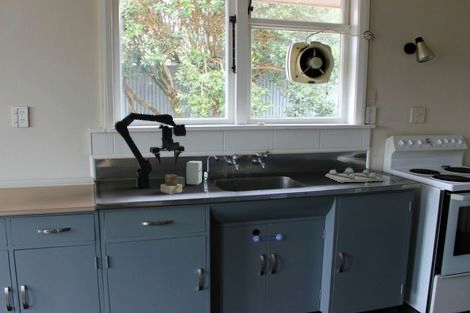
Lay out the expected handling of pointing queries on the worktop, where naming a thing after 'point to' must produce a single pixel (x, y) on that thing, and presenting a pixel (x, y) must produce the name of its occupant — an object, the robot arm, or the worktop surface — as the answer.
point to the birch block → (171, 189)
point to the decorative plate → (353, 176)
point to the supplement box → (194, 172)
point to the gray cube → (181, 181)
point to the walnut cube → (171, 180)
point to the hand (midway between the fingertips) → (167, 164)
